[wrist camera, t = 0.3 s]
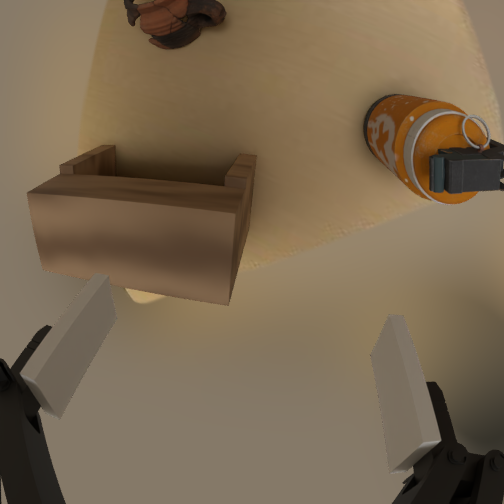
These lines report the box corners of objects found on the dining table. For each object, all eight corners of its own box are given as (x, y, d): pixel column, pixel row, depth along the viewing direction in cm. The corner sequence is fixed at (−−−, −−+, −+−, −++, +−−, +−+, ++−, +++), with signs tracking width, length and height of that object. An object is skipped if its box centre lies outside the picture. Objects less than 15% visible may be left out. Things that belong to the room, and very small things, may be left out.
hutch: (102, 145, 39) (25, 183, 25) (256, 155, 38) (236, 201, 24) (106, 211, 44) (42, 269, 30) (248, 229, 43) (228, 305, 29)
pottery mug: (136, 53, 33) (102, 19, 24) (167, 0, 32) (141, -37, 24) (222, 60, 30) (198, 15, 22) (250, 3, 30) (235, -43, 22)
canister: (358, 95, 33) (425, 110, 16) (441, 94, 31) (547, 118, 14) (365, 167, 37) (425, 244, 20) (444, 162, 35) (537, 230, 18)
